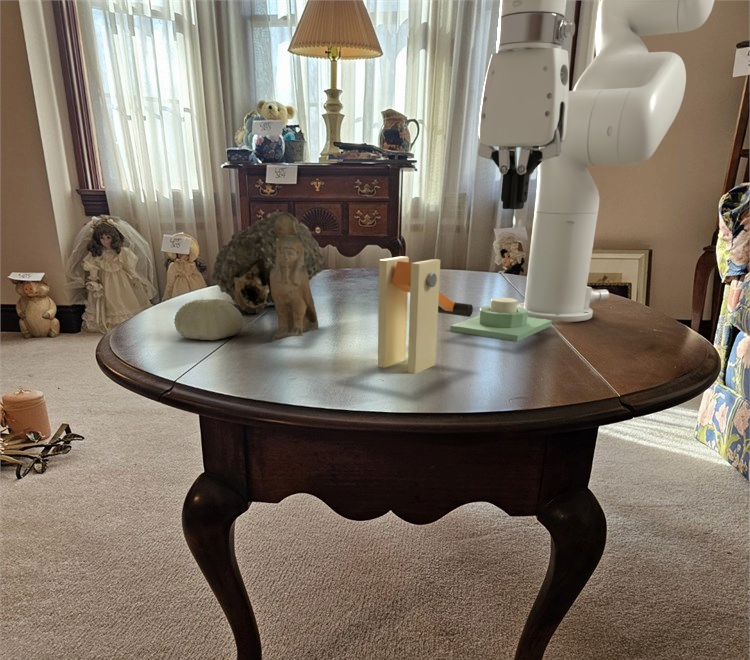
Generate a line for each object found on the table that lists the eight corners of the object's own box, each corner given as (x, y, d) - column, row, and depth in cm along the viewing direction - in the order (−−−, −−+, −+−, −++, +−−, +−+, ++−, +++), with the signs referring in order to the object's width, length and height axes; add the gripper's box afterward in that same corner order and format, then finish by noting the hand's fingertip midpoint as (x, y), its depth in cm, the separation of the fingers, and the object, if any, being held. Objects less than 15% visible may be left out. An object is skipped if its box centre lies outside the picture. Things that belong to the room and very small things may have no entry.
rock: (281, 195, 112) (266, 179, 98) (338, 262, 116) (332, 256, 101) (206, 271, 116) (182, 266, 102) (263, 333, 119) (248, 337, 105)
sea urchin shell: (174, 315, 95) (210, 274, 93) (217, 352, 98) (252, 314, 96) (161, 328, 87) (200, 284, 85) (208, 369, 90) (246, 327, 88)
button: (497, 309, 93) (498, 296, 93) (520, 312, 92) (521, 299, 91) (485, 313, 91) (486, 300, 90) (509, 316, 89) (511, 303, 88)
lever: (434, 317, 81) (439, 298, 81) (469, 322, 79) (475, 302, 78) (380, 282, 70) (386, 259, 70) (420, 286, 67) (426, 263, 67)
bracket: (401, 360, 81) (404, 251, 76) (465, 372, 77) (474, 257, 71) (343, 383, 73) (341, 261, 67) (411, 398, 68) (416, 269, 62)
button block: (487, 326, 100) (489, 299, 98) (550, 335, 95) (553, 307, 93) (449, 341, 91) (451, 312, 89) (516, 352, 86) (519, 321, 84)
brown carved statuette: (304, 365, 88) (292, 227, 77) (265, 362, 89) (248, 225, 78) (324, 328, 97) (316, 199, 86) (288, 326, 98) (276, 198, 87)
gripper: (602, 37, 76) (578, 210, 84) (486, 48, 83) (474, 205, 92) (580, 26, 70) (557, 212, 79) (458, 39, 78) (448, 207, 86)
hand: (513, 208), depth 85 cm, fingers closed
